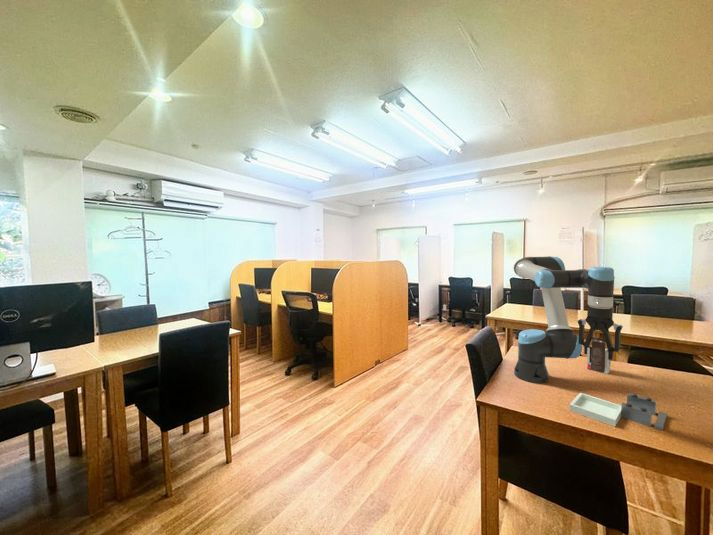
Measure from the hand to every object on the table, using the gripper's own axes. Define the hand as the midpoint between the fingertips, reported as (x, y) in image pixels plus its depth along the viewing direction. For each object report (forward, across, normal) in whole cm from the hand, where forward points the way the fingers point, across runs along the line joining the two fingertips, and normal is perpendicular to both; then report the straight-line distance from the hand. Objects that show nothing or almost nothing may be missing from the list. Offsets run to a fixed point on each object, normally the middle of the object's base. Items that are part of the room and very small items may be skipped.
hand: (597, 364), depth 113 cm
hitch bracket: (+19, +13, +9) cm, 25 cm away
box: (+2, 0, 0) cm, 2 cm away
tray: (+19, 0, 0) cm, 19 cm away
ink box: (+19, -9, +47) cm, 52 cm away
